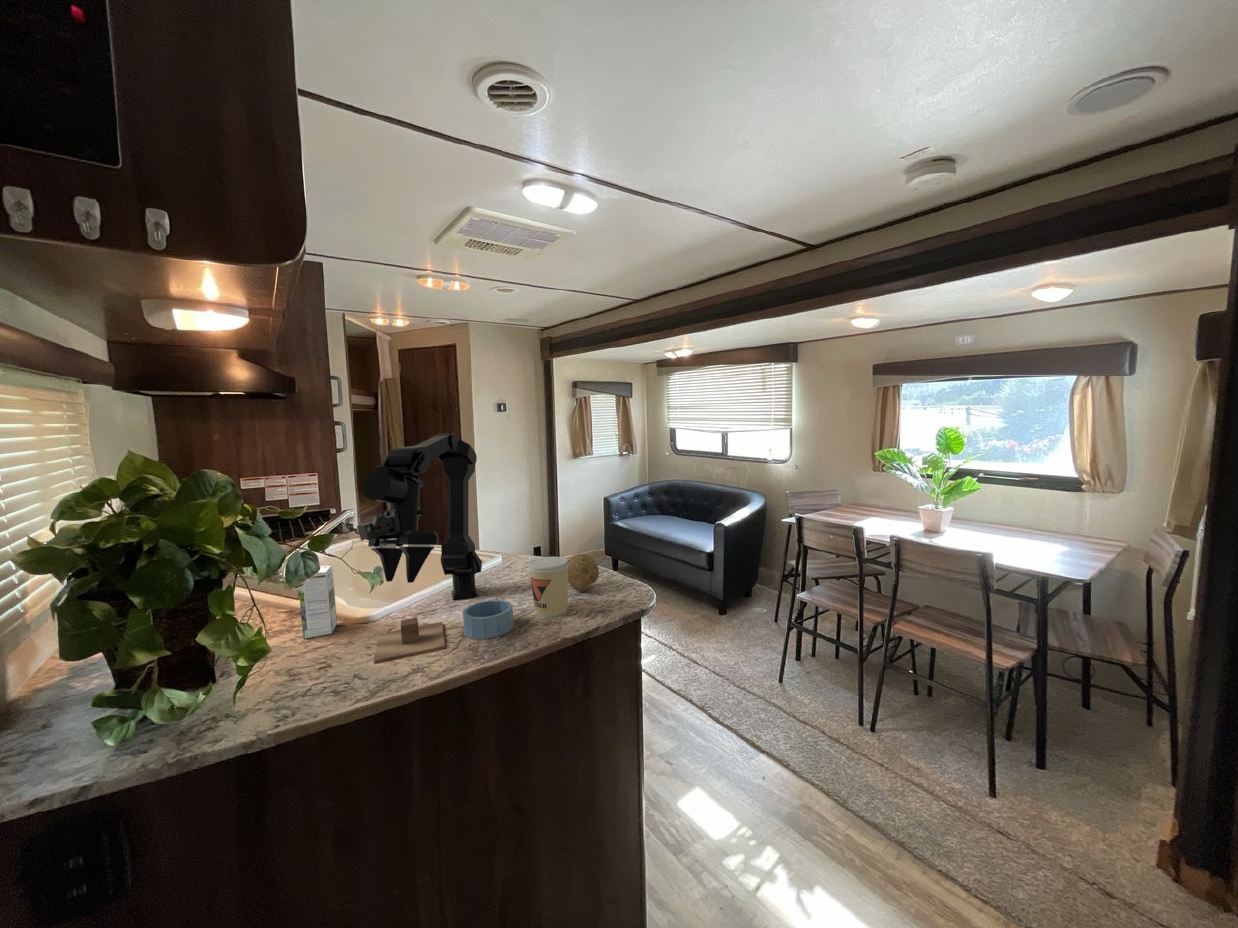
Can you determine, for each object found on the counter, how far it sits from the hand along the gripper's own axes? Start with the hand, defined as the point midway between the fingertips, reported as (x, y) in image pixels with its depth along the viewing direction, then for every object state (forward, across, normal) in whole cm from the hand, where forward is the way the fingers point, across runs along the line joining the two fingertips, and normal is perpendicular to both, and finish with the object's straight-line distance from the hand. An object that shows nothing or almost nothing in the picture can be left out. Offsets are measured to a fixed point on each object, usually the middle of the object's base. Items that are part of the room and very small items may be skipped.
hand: (399, 581), depth 98 cm
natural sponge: (+5, +7, +46) cm, 47 cm away
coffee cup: (+8, +10, +33) cm, 35 cm away
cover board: (+13, -3, +5) cm, 15 cm away
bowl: (+11, +5, +18) cm, 22 cm away
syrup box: (+12, -26, -5) cm, 29 cm away
